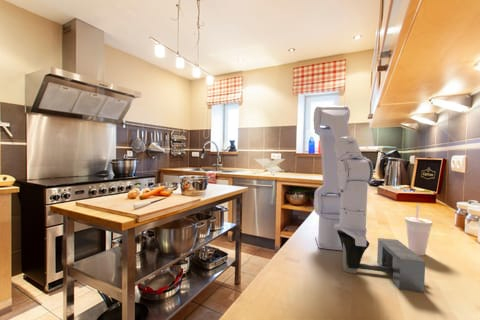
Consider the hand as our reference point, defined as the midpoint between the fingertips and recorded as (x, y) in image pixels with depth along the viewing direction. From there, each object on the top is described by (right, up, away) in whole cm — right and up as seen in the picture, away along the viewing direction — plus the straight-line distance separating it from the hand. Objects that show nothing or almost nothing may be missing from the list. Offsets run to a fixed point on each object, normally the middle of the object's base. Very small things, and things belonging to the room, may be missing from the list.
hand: (350, 264), depth 54 cm
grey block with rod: (+6, -2, -1) cm, 7 cm away
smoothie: (+25, -2, +11) cm, 27 cm away
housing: (+10, -2, -2) cm, 10 cm away
